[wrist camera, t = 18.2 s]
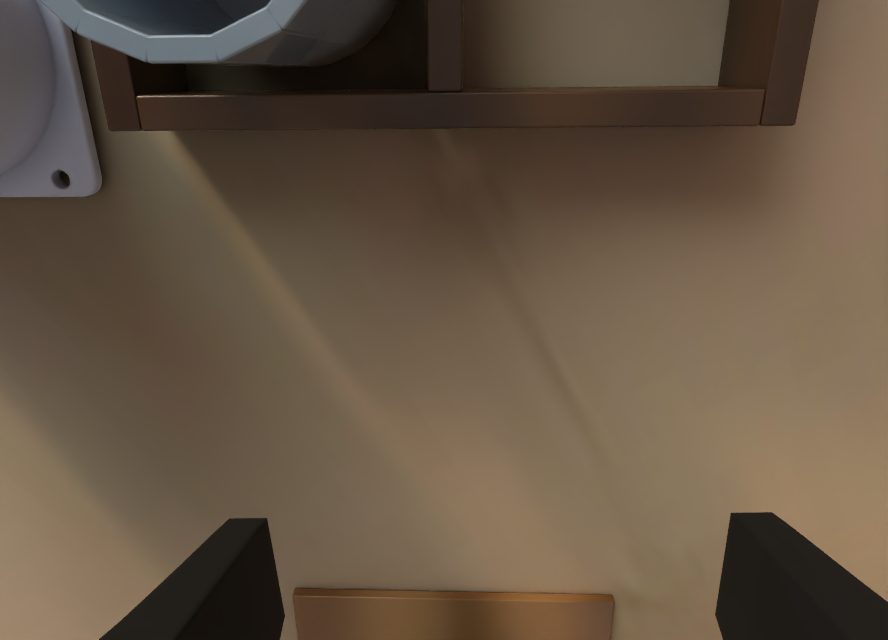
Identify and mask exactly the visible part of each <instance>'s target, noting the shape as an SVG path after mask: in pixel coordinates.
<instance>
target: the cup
mask: <svg viewBox="0 0 888 640" xmlns="http://www.w3.org/2000/svg"><path fill="white" fill-rule="evenodd" d="M39 1H40V2H41V3H43V4H44V5H45V6H46V7H47V8H48V9H49V10H50V11H51V12H53V13H54V14H55V15H56V16H57V17H58V18H59V19H60V20H61V21H63V22H64V23H65V24H66V25H67V26H68V27H69V28H70V29H71V30H73V31H74V32H76V33H77V34H79V35H80V36H82V37H85V38H87V39H90V40H92V41H95V42H97V43H99V44H102V45H104V46H107V47H109V48H112V49H114V50H116V51H119V52H121V53H124V54H126V55H129V56H131V57H133V58H136V59H138V60H141V61H143V62H149V63H151V64H190V65H236V66H283V67H285V66H323V65H327V64H329V63H333V62H336V61H338V60H341V59H344V58H346V57H348V56H350V55H352V54H353V53H355V52H357V51H358V50H360V49H361V48H362V47H364V46H365V45H366V44H367V43H369V42H370V41H371V40H372V39H373V38H374V37H375V36H376V35H377V34H378V33H379V31H380V30H381V29H382V27H383V26H384V25H385V23H386V22H387V21H388V19H389V17H390V15H391V14H392V12H393V10H394V8H395V6H396V4H397V1H398V0H39Z"/></svg>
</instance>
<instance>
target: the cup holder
mask: <svg viewBox="0 0 888 640" xmlns="http://www.w3.org/2000/svg"><path fill="white" fill-rule="evenodd" d="M818 1H819V0H730V6H729V13H728V20H727V27H726V34H725V41H724V48H723V55H722V62H721V69H720V76H719V83H718V86H656V87H559V88H462V87H463V0H425V5H426V56H427V89H365V90H267V91H187V86H186V79H185V73H184V66H183V64H151V63H149V62H143V61H141V60H138V59H136V58H133V57H131V56H129V55H126V54H124V53H121V52H119V51H116V50H114V49H112V48H109V47H107V46H104V45H102V44H99V43H97V42H95V41H92V40H91V44H92V49H93V54H94V59H95V64H96V69H97V74H98V79H99V84H100V89H101V94H102V99H103V104H104V109H105V114H106V119H107V124H108V129H109V130H110V131H142V130H144V131H193V130H320V129H447V128H574V127H701V126H758V125H760V126H792V125H795V123H796V118H797V112H798V107H799V102H800V96H801V91H802V86H803V81H804V75H805V70H806V65H807V59H808V54H809V49H810V43H811V38H812V33H813V28H814V22H815V17H816V12H817V6H818Z"/></svg>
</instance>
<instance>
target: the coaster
mask: <svg viewBox="0 0 888 640" xmlns="http://www.w3.org/2000/svg"><path fill="white" fill-rule="evenodd" d="M293 603H294V610H295V618H296V626H297V633H298V640H610V636H611V628H612V619H613V611H614V599H613V596H612V595H596V594H547V593H497V592H448V591H398V590H349V589H300V588H296V589H295V590H294V593H293Z"/></svg>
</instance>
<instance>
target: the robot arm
mask: <svg viewBox="0 0 888 640" xmlns="http://www.w3.org/2000/svg"><path fill="white" fill-rule="evenodd" d="M61 171H64V172H65V173H66V174H67V175H68V176H69V178H70V185H69V186H66V185H65V184H64V183H63V182H62V180H61V178H60V172H61ZM101 186H102V175H101V170H100V166H99V161H98V156H97V151H96V147H95V142H94V137H93V132H92V128H91V123H90V118H89V113H88V109H87V104H86V99H85V94H84V90H83V85H82V80H81V75H80V71H79V66H78V61H77V56H76V52H75V47H74V42H73V37H72V33H71V29H70V28H69V27H68V26H67V25H66V24H65V23H64V22H63V21H61V20H60V19H59V18H58V17H57V16H56V15H55V14H54V13H53V12H51V11H50V10H49V9H48V8H47V7H46V6H45V5H44V4H43V3H41V2H40V1H39V0H0V197H85V196H89V195H92V194H95V193H96V192H98V191H99V190H100V188H101ZM715 615H716V618H717V621H718V625H719V628H720V631H721V634H722V637H723V640H888V602H887V601H886V600H884V599H883V598H882V597H880V596H879V595H878V594H876V593H875V592H874V591H873V590H871V589H870V588H869V587H867V586H866V585H865V584H864V583H862V582H861V581H860V580H858V579H857V578H856V577H855V576H853V575H852V574H851V573H849V572H848V571H847V570H846V569H844V568H843V567H842V566H841V565H839V564H838V563H837V562H835V561H834V560H833V559H832V558H830V557H829V556H828V555H827V554H825V553H824V552H823V551H822V550H820V549H819V548H818V547H816V546H815V545H814V544H813V543H811V542H810V541H809V540H808V539H806V538H805V537H804V536H803V535H801V534H800V533H799V532H797V531H796V530H795V529H794V528H792V527H791V526H790V525H788V524H787V523H786V522H784V521H783V520H782V519H780V518H779V517H778V516H776V515H775V514H773V513H772V512H764V513H731V516H730V522H729V529H728V535H727V542H726V548H725V555H724V561H723V568H722V574H721V581H720V587H719V594H718V600H717V607H716V613H715ZM284 618H285V614H284V608H283V603H282V597H281V592H280V587H279V581H278V576H277V570H276V565H275V559H274V554H273V548H272V543H271V537H270V532H269V526H268V521H267V518H237V519H229V520H227V521H226V522H225V523H224V524H223V525H222V526H221V527H220V528H219V529H218V530H217V531H215V532H214V533H213V534H212V535H211V536H210V537H209V538H208V539H207V540H206V541H205V542H204V543H203V544H202V545H201V546H200V547H199V548H198V549H197V550H196V551H195V552H193V553H192V554H191V555H190V556H189V557H188V558H187V559H186V560H185V561H184V562H183V563H182V564H181V565H180V566H179V567H178V568H177V569H176V570H175V571H174V572H173V573H172V574H170V575H169V576H168V577H167V578H166V579H165V580H164V581H163V582H162V583H161V584H160V585H159V586H158V587H157V588H156V589H154V590H153V591H152V592H151V593H150V594H149V595H148V596H147V597H146V598H145V599H144V600H143V601H142V602H140V603H139V604H138V605H137V606H136V607H135V608H134V609H133V610H132V611H131V612H130V613H129V614H128V615H127V616H125V617H124V618H123V619H122V620H121V621H120V622H119V623H118V624H116V625H115V626H114V627H113V628H112V629H111V630H109V631H108V632H107V633H106V634H105V635H104V636H102V637H101V638H100V639H99V640H280V636H281V631H282V627H283V622H284Z"/></svg>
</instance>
